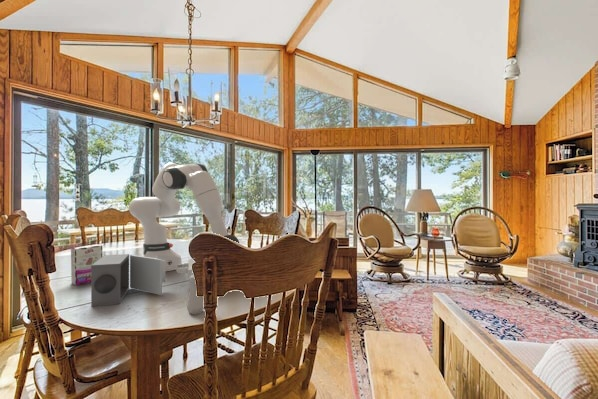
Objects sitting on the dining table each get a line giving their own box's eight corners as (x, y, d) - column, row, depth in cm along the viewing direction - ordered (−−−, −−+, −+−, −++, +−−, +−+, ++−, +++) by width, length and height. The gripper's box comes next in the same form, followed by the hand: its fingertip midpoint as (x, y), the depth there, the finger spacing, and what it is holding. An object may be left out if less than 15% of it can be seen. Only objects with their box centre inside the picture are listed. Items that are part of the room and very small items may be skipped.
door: (129, 287, 127) (129, 255, 127) (140, 284, 132) (140, 253, 132) (159, 294, 119) (160, 259, 119) (170, 290, 124) (170, 257, 124)
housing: (104, 290, 124) (104, 255, 124) (129, 288, 127) (129, 254, 127) (89, 308, 106) (90, 266, 105) (118, 305, 109) (119, 264, 108)
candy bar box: (97, 278, 142) (98, 244, 142) (103, 279, 140) (103, 245, 139) (70, 283, 133) (70, 247, 132) (75, 285, 130) (75, 248, 130)
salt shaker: (189, 309, 106) (189, 273, 106) (205, 308, 107) (206, 273, 106) (184, 315, 100) (184, 277, 100) (201, 315, 101) (202, 277, 101)
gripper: (208, 254, 142) (177, 256, 137) (212, 264, 123) (176, 266, 118) (208, 267, 142) (177, 269, 137) (211, 279, 123) (175, 282, 118)
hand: (176, 268), depth 127 cm, fingers open, 4 cm apart
